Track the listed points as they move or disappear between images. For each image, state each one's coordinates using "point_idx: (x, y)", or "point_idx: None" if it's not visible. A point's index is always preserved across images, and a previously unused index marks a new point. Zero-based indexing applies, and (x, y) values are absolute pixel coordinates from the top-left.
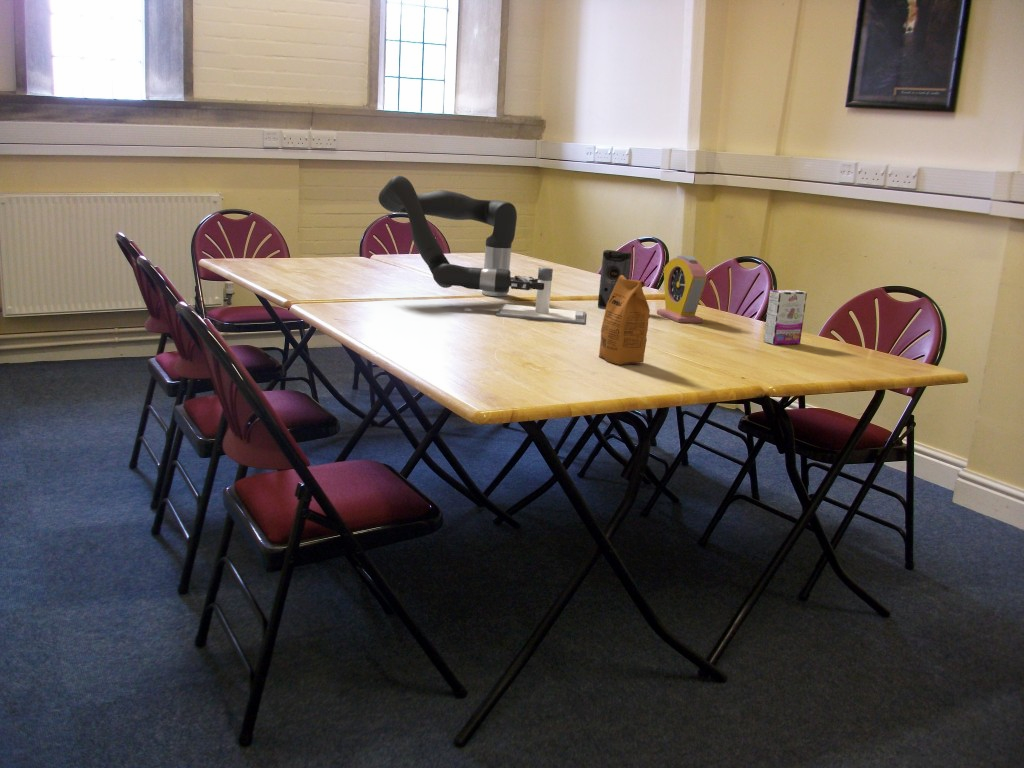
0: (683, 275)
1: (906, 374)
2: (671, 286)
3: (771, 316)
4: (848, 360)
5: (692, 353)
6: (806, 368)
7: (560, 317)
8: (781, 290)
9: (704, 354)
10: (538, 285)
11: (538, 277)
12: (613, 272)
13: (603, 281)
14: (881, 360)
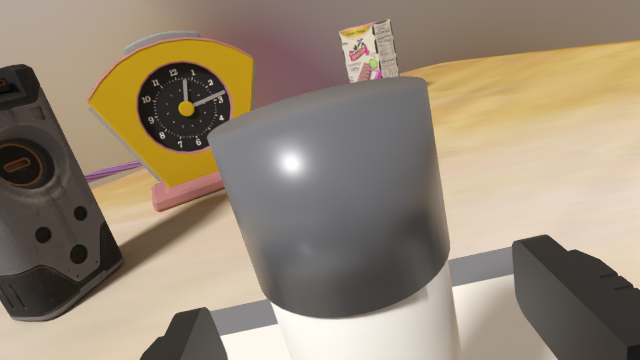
0: (195, 78)
1: (472, 61)
2: (152, 130)
3: (388, 62)
4: (440, 76)
5: (636, 86)
6: (550, 62)
7: (525, 339)
8: (366, 24)
9: (616, 84)
10: (619, 290)
11: (411, 263)
12: (10, 162)
13: (13, 212)
14: None
